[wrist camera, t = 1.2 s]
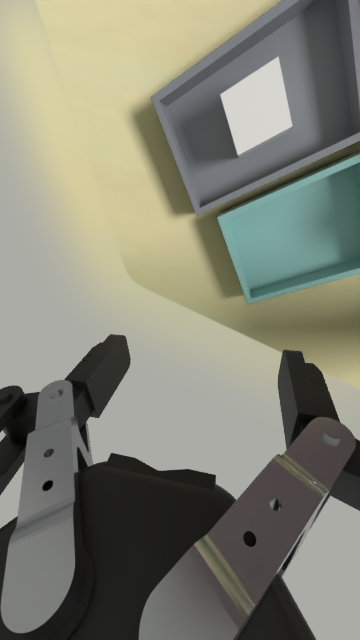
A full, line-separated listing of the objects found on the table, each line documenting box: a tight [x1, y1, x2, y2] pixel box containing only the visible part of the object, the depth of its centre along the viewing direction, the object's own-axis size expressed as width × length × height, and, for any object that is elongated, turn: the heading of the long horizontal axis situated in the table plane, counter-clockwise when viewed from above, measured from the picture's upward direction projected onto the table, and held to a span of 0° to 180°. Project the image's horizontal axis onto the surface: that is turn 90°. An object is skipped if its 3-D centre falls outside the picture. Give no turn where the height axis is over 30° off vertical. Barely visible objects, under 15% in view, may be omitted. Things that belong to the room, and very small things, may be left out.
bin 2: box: [217, 151, 360, 304], centre depth 27 cm, size 14×11×3 cm
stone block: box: [220, 57, 292, 158], centre depth 21 cm, size 4×4×4 cm
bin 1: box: [151, 0, 360, 216], centre depth 23 cm, size 16×11×3 cm
